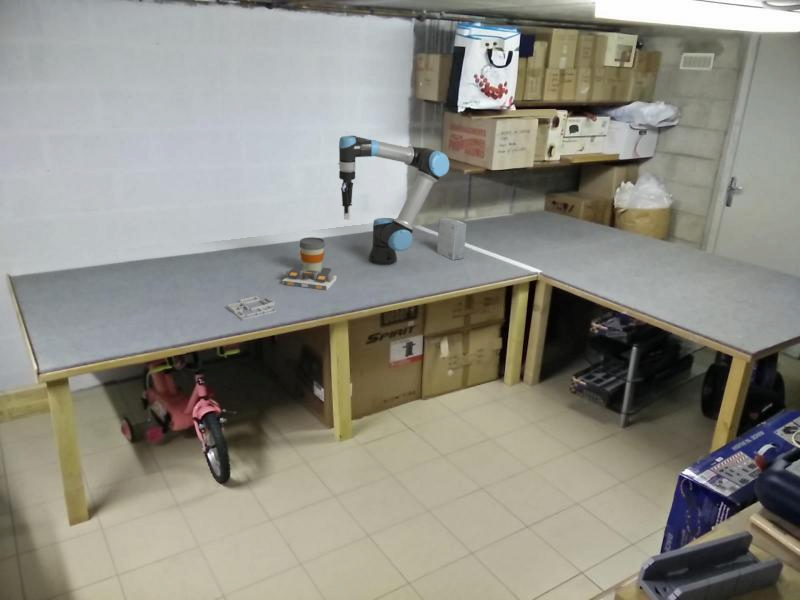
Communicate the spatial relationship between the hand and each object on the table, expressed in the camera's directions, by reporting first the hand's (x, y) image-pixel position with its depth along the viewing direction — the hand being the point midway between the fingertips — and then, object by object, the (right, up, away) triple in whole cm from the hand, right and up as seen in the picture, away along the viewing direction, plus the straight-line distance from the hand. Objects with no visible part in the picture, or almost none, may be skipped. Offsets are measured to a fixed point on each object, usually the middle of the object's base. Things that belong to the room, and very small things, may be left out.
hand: (347, 219), depth 302 cm
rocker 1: (-24, -25, -2) cm, 35 cm away
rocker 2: (-11, -27, -4) cm, 29 cm away
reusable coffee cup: (-19, -24, +16) cm, 34 cm away
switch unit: (-18, -30, -1) cm, 35 cm away
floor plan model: (-40, -42, -31) cm, 66 cm away
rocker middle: (-18, -26, -3) cm, 32 cm away
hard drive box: (+54, -15, +48) cm, 74 cm away
